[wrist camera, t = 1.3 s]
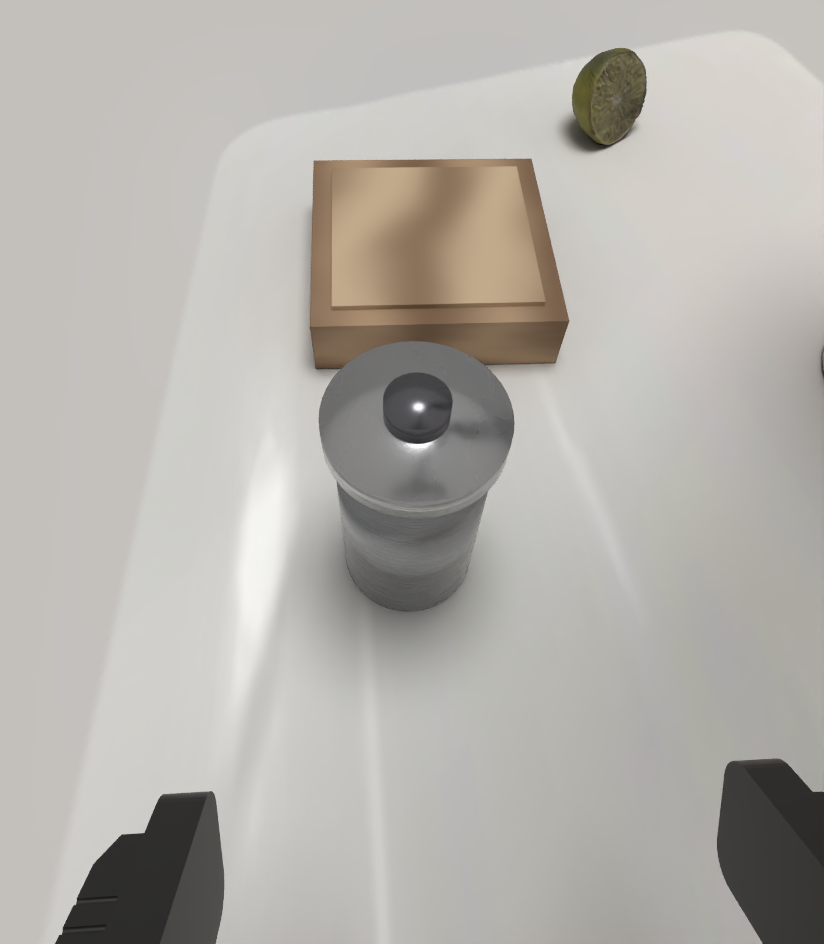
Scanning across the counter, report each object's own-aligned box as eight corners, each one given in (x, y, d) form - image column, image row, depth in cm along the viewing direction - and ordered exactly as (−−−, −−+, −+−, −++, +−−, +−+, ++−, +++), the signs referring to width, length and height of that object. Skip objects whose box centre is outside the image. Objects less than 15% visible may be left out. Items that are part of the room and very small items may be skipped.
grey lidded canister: (468, 489, 30) (504, 321, 21) (483, 615, 28) (532, 484, 18) (339, 494, 30) (317, 325, 21) (339, 621, 27) (315, 492, 18)
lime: (637, 119, 45) (664, 39, 41) (626, 162, 43) (652, 83, 39) (571, 104, 46) (591, 25, 41) (556, 146, 43) (575, 66, 39)
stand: (522, 204, 40) (532, 154, 38) (555, 362, 34) (570, 317, 32) (318, 206, 40) (313, 156, 37) (315, 368, 34) (309, 323, 31)
